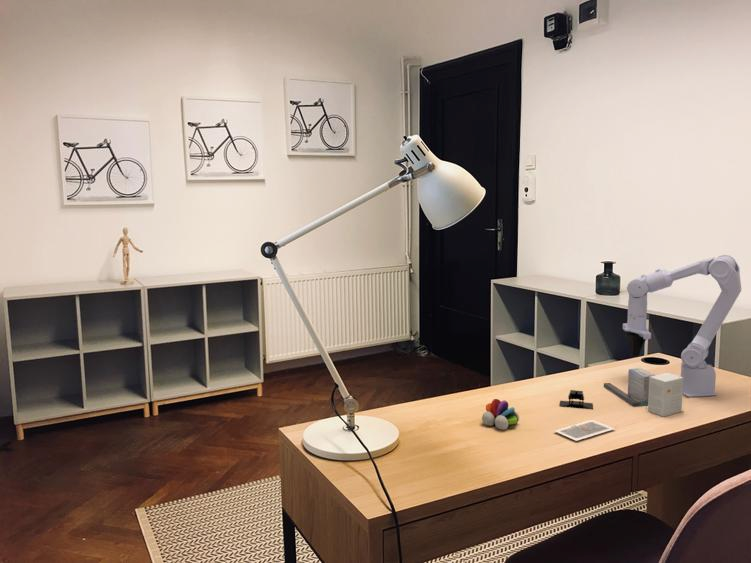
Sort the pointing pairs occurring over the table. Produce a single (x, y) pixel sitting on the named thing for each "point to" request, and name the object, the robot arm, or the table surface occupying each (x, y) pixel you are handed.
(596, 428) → the touchpad
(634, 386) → the medicine box
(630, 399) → the track
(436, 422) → the table surface
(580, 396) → the black ring bracket
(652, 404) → the small box
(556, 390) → the table surface
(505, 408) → the bunch of balls
